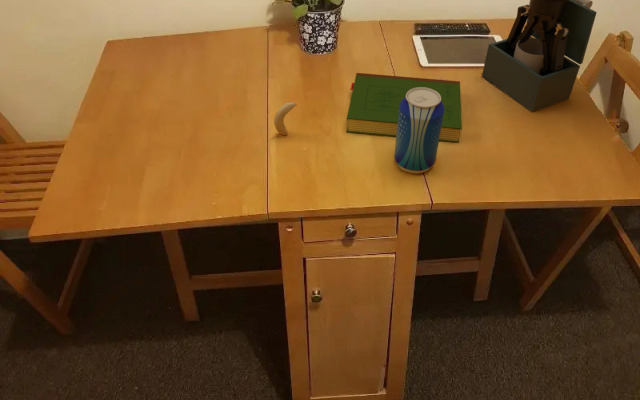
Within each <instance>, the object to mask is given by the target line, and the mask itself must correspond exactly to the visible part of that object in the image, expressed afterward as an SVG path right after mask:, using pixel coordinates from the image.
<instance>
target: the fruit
mask: <svg viewBox="0 0 640 400" xmlns="http://www.w3.org/2000/svg"><path fill="white" fill-rule="evenodd" d="M297 105H298V103H297V102H292V101H288V102H286V103H284V104H283V105H282V106H280V107H279V109H277V111H276V113H275V115H274V118H273V123H274V124H273V125H274V127H275V129H276V132H278V134H279V135H282V136H288V134H289V133H288V130H287V127H286V125H285V122H284V119H285V118H286V116H287V115H288V114H289V113H290V111H292V110H293V109H294V108H295V107H297Z"/></svg>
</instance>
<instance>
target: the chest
mask: <svg viewBox="0 0 640 400" xmlns="http://www.w3.org/2000/svg"><path fill="white" fill-rule="evenodd" d="M530 38H534V37H533V36H530ZM506 41H507V38H505V39H501V40H498V41H495V42H491V43H489V44H488V46H487V50H486V55H485V59H484V65H483V69H482V73H481V77H482V78H483V79H485V80H486V81H487V82H489V83H490V84H492V85H493V86H494V87H496V88H497V89H498V90H500V91H501V92H503V93H504V94H506V95H507V96H508V97H510V98H511V99H512V100H514V101H515V102H516V103H518V104H519V105H521V106H522V107H524V108H525V109H527V110H528V111H529V112H531V113H534V112H536V111H539V110H542V109H545V108H547V107H551V106H554V105H556V104H558V103H559V104H560V103H562V102H564V101H567V100H569V99H570V97H571V94H572V91H573V88H574V85H575V82H576V80H577V77H578V74H579V71H580V68H581V65H580V64H578V63H576V62H575V61H573V60H571V59H570V58H568V57H566V56H565V55H564V62H563V68H562V70H559V71H556V72H553V73H551V74H548V75H545V76H541V75H539V74H538V73H536V72H535V71H533V70H531V69H530V68H528V67H527V66H525V65H524V64H522V63H521V62H519V61H518V60H516V59H515V58H513V57H511V56H510V54H511V51H512V50H511V46H510V45H508V44H507V43H506Z"/></svg>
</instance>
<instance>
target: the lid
mask: <svg viewBox="0 0 640 400" xmlns="http://www.w3.org/2000/svg"><path fill="white" fill-rule="evenodd" d="M593 4H594V3H593V1H592V0H568V1H567V4H566V7H565V10H564V12H563V14H562V15H561V25H563V26H564V27H565V28H566V27H570V29H571V31H570V33H569V35H568V37H567V42H566V49H565V55H564V56H565V57H566V58H568V59H570V60H571V61H573V62H575V63H576V64H578V65H582V64H583V63H584V59H585V56H586V52H587V49H588V45H589V41H590V38H591V34H592V30H593V27H594V23H595V19H596V16H597V13H598V12H597V11H595V10H593V9H591V8H592V6H593ZM528 22H529V17H528V18H527V21H526V24H527V23H528ZM548 35H550V34H548ZM548 35H546V36H548ZM531 37H533V38H537V39H540V35H539V34H538V33H537V32H534V33H533V34H532V35H531ZM554 40H555V39H554Z"/></svg>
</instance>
